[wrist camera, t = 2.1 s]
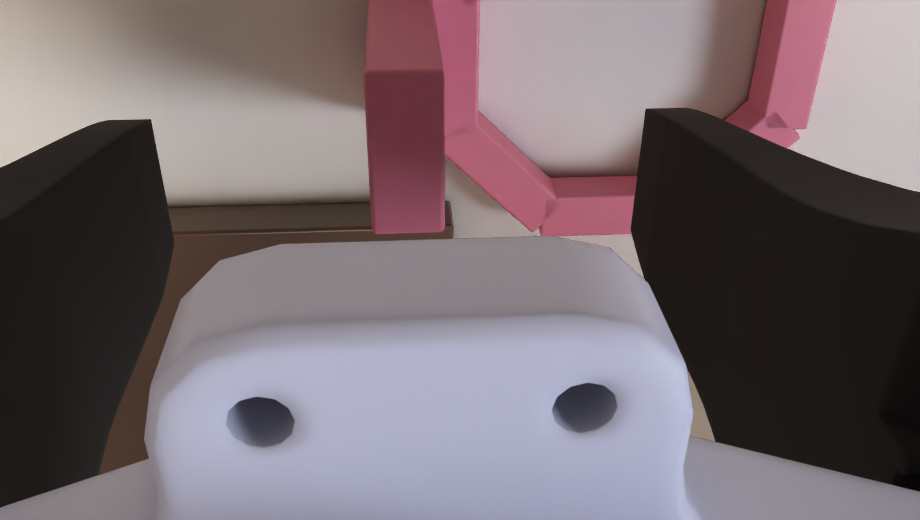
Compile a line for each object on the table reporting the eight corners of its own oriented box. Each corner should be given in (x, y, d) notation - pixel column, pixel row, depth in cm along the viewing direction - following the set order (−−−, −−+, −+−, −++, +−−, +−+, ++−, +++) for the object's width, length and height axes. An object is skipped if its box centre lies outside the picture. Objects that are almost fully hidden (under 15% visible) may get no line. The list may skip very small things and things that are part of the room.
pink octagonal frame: (849, -166, 16) (1018, -123, 12) (767, 209, 21) (870, 343, 16) (362, -166, 16) (353, -120, 11) (381, 219, 20) (379, 361, 16)
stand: (450, 199, 20) (467, 329, 16) (450, 481, 25) (462, 640, 20) (44, 209, 19) (-53, 347, 15) (124, 496, 24) (67, 663, 20)
